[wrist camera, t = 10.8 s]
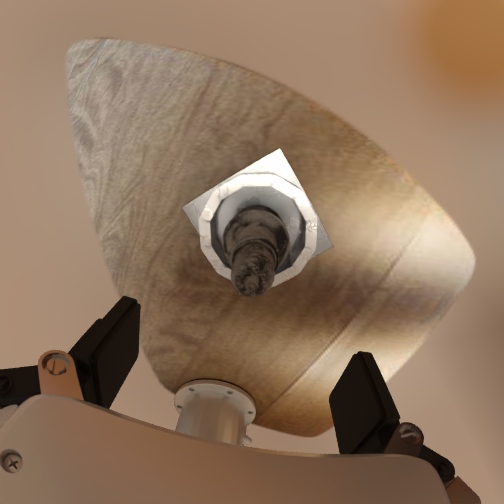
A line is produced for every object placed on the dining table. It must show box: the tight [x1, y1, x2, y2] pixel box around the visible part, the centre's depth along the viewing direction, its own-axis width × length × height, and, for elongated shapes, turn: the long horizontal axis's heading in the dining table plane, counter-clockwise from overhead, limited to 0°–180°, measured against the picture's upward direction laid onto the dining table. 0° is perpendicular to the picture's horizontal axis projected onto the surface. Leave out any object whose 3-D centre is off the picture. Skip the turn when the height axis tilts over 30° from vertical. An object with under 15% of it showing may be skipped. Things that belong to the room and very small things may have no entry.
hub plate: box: [182, 149, 333, 295], centre depth 27 cm, size 11×11×4 cm
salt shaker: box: [222, 205, 290, 297], centre depth 22 cm, size 6×6×12 cm
